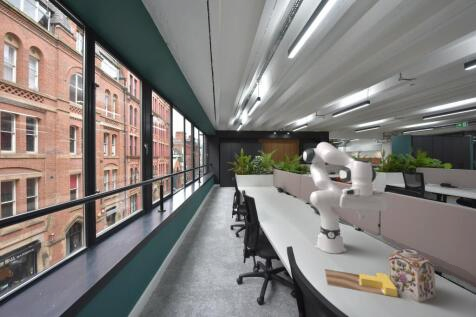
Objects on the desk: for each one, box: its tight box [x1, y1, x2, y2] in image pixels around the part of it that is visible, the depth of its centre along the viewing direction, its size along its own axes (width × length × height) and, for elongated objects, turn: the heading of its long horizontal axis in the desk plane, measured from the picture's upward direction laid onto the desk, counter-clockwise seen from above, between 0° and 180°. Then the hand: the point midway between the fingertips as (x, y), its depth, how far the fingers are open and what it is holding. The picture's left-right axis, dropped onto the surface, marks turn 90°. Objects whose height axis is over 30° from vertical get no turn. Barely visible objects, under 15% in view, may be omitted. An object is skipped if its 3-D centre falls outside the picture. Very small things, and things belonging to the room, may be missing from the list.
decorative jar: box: [388, 248, 436, 304], centre depth 86 cm, size 12×12×18 cm
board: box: [324, 268, 403, 300], centre depth 90 cm, size 14×28×1 cm, turn 71°
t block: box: [358, 272, 398, 298], centre depth 88 cm, size 12×12×3 cm
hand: (362, 218), depth 97 cm, fingers closed
